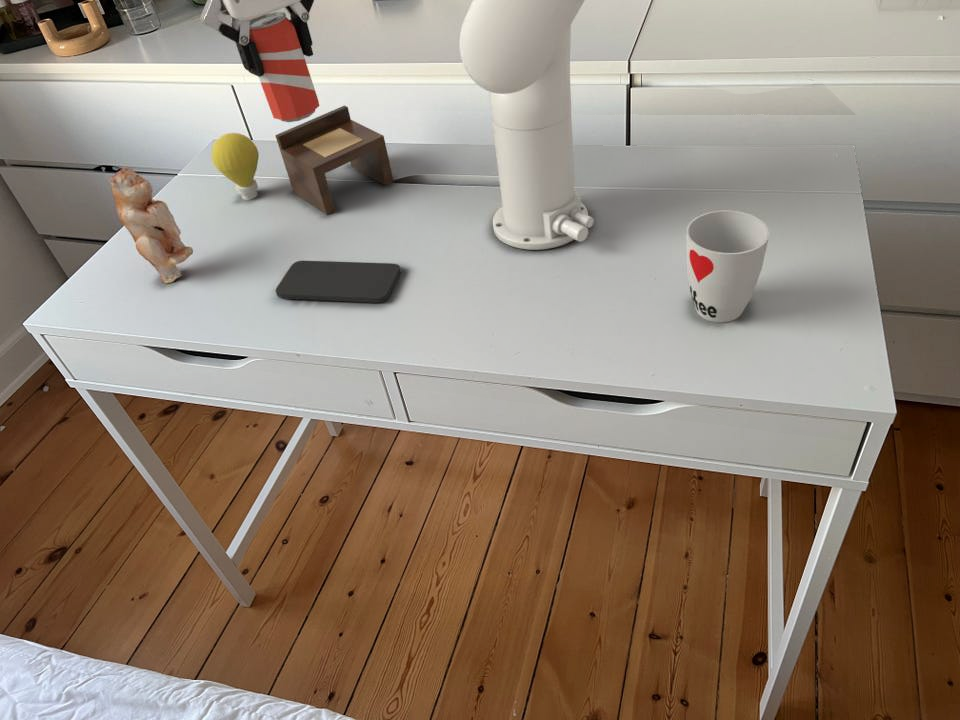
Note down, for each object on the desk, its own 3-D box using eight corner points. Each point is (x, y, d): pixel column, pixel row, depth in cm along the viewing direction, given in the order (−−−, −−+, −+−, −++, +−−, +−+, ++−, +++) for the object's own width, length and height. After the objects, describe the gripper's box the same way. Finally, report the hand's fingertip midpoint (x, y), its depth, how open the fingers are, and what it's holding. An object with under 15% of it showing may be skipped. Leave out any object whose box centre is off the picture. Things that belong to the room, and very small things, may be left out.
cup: (673, 291, 88) (677, 216, 82) (743, 281, 88) (753, 205, 82) (693, 336, 82) (699, 259, 76) (769, 325, 82) (781, 247, 76)
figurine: (189, 287, 102) (142, 186, 92) (139, 286, 104) (87, 187, 94) (210, 260, 106) (167, 161, 96) (161, 259, 108) (115, 162, 98)
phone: (384, 299, 93) (272, 294, 96) (386, 304, 93) (273, 299, 97) (402, 263, 98) (294, 259, 102) (403, 268, 99) (296, 264, 102)
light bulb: (280, 189, 119) (260, 128, 113) (249, 210, 115) (227, 149, 109) (250, 181, 122) (228, 122, 116) (219, 202, 118) (195, 142, 112)
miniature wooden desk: (394, 181, 116) (380, 122, 110) (326, 215, 111) (309, 155, 105) (358, 162, 123) (344, 105, 116) (293, 193, 118) (274, 135, 111)
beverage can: (329, 103, 102) (299, 8, 94) (304, 125, 97) (270, 28, 90) (292, 104, 104) (260, 11, 96) (265, 125, 100) (230, 30, 92)
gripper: (173, -75, 78) (233, 96, 90) (316, -117, 86) (354, 46, 98) (145, -81, 83) (206, 82, 95) (282, -121, 90) (323, 35, 102)
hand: (280, 62), depth 96 cm, fingers closed on beverage can, 6 cm apart
